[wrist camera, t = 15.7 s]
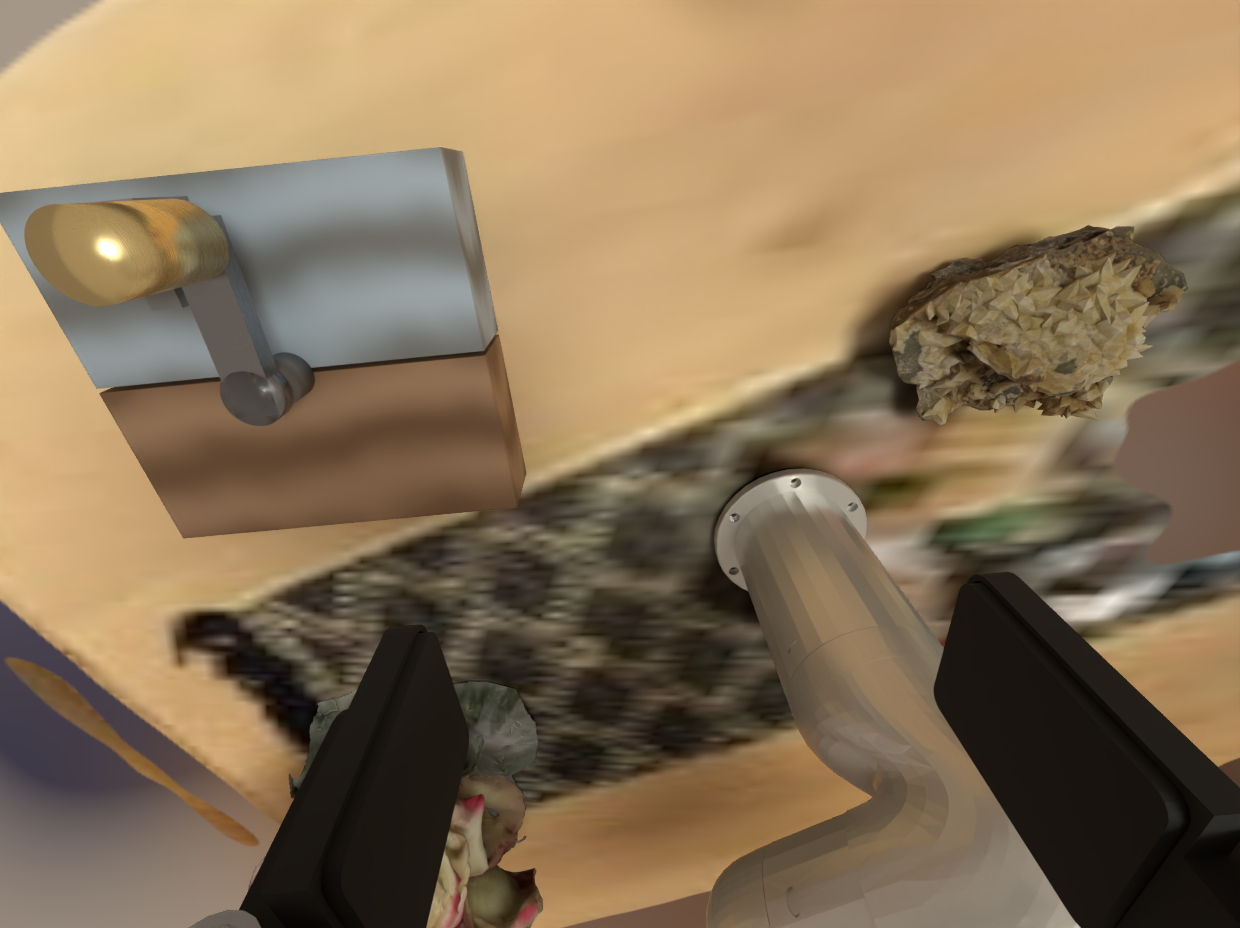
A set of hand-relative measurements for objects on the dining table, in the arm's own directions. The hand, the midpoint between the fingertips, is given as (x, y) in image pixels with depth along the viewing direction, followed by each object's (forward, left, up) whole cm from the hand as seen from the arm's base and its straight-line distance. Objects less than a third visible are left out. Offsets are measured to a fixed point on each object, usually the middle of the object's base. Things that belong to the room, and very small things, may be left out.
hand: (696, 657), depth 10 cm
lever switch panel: (-1, +21, -30) cm, 37 cm away
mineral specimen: (-4, -24, -31) cm, 39 cm away
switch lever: (+3, +21, -22) cm, 31 cm away
